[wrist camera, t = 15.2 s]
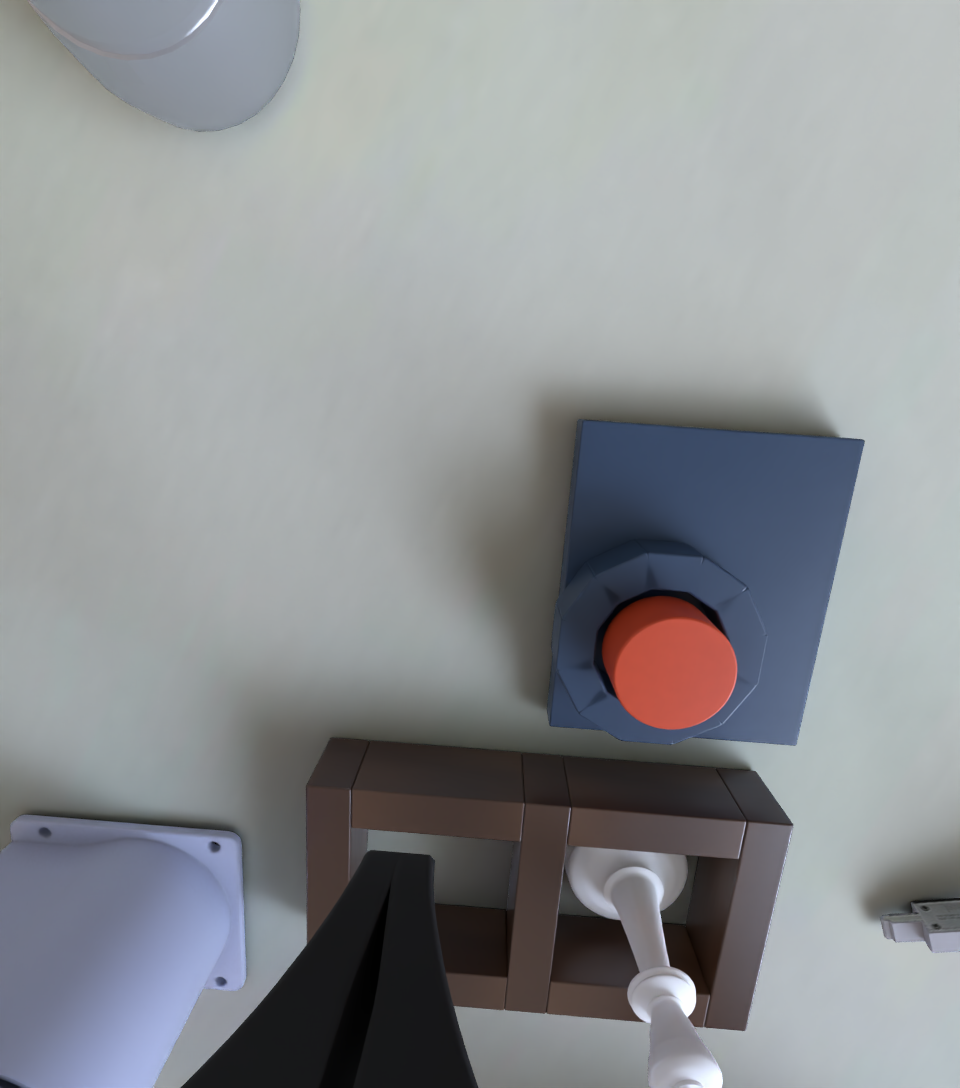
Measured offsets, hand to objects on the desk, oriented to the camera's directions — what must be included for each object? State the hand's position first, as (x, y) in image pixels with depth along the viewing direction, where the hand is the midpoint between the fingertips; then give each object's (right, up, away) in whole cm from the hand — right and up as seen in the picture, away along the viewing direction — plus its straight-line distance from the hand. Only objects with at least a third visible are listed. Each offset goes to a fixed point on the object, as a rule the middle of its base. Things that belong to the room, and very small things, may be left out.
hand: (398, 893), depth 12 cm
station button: (+7, +4, +7) cm, 11 cm away
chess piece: (+8, -6, +12) cm, 15 cm away
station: (+9, +6, +9) cm, 14 cm away
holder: (+4, -6, +12) cm, 14 cm away
